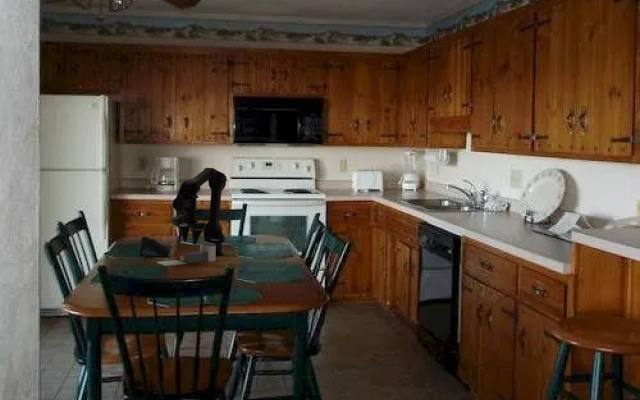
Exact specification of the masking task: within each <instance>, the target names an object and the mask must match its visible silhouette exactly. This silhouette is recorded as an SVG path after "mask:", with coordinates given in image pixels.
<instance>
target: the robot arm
mask: <svg viewBox="0 0 640 400" xmlns="http://www.w3.org/2000/svg"><path fill="white" fill-rule="evenodd" d="M227 181H228V178H227V176H226V175H225V173H223V172H221V171H219V170H217V169H216V168H213V167H205V168H203V170H202V171H200V172H199V173H198V174H197V175H195V176H194V177H193V178H188V179H186V180H184V181H183V182H182V183H181V186H180V187H179V190H178V192H177V195H176V197H175V198H174V199H173V201H172V203H171V204H172V205H171V206H172V208H173V209H174V210H175V211H181V212H180V214H179V215H175V216H174V217H171V219H170V220H171V222H172V226H175V227H176V228H177V229H178V230H179V231H180V233H181V237H182V240H183V242H187V240H188V236H189V232H191V235H192V236H191V237H192V244H193V245H197V242H198V240H199V239H200V236H201V235H202V234H203V240H204V241H207V242H210V243H214V244H216V256H220V255H224V253H223V251H222V250H223V247H222V246H223V243H224V242H226V241H225V240H226V236H225V235H224V232H223V228H222V225H221V223H220V213H221V201H222V192H223V190H224V189H225V188H226V186H227V185H226V184H227ZM207 182H208V187H209V189H210V202H209V204H210V205H209V214H208V215H209V216H208V221H207V222H206V223H204V222H202V221H199V220H198V219H197V214H199V210H197V201H198V200H197V199H199V195H197V194H198V193H199V192H200V191H201V186H203V185H204V184H205V183H207Z"/></svg>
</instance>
